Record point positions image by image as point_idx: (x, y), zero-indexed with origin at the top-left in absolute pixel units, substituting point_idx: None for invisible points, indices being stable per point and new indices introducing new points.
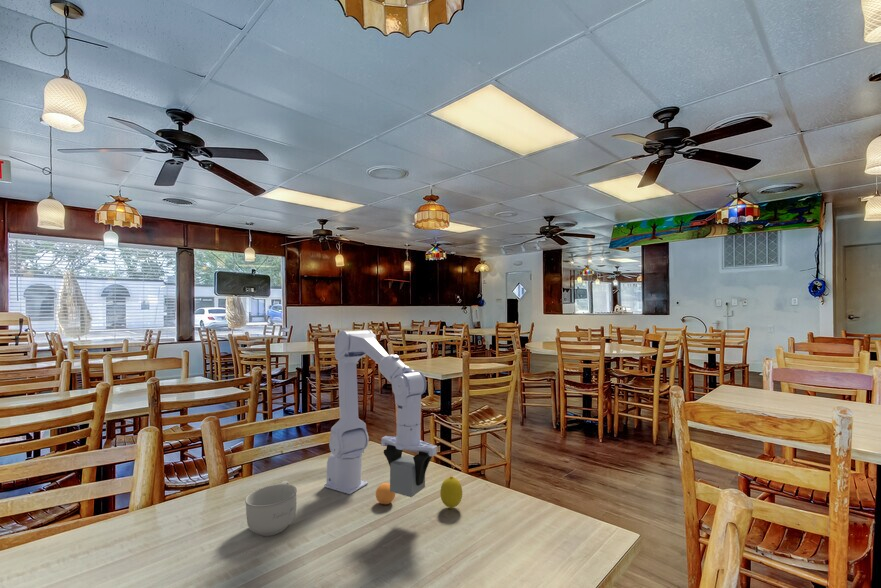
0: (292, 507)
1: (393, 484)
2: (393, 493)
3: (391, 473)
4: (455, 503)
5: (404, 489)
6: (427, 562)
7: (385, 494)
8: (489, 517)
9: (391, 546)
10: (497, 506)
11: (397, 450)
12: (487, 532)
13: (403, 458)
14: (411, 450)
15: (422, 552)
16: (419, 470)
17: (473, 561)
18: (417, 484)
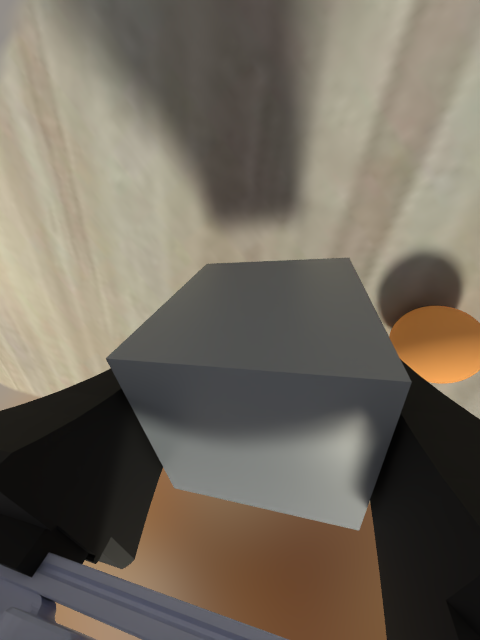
0: None
1: (325, 275)
2: (394, 347)
3: (357, 308)
4: None
5: (241, 273)
6: (91, 109)
7: (422, 325)
8: None
9: (233, 95)
10: None
11: (417, 610)
12: (110, 320)
13: (323, 486)
14: (146, 599)
15: (138, 147)
16: (108, 372)
17: (41, 204)
18: None
